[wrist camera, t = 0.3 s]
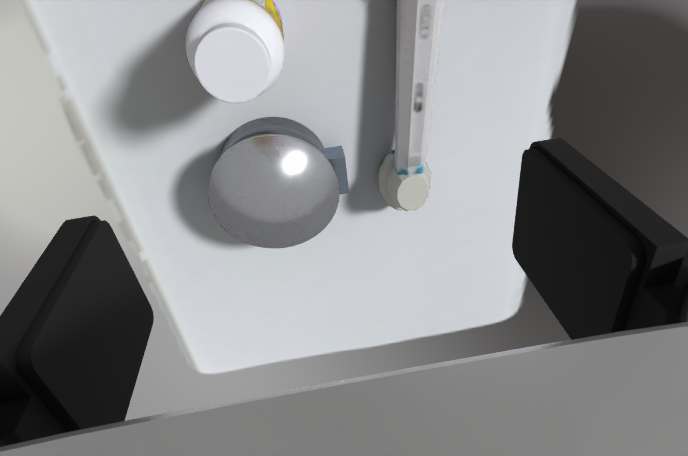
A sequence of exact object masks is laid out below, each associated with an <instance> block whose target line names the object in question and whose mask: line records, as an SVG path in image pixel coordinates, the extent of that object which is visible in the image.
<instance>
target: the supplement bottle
mask: <svg viewBox="0 0 688 456" xmlns="http://www.w3.org/2000/svg"><path fill="white" fill-rule="evenodd" d="M186 55H187V59H188V62H189V65H190V67H191V69H192V71H193V73H194V74H195V76H196V77H197V78H198V80H199V81H200V83H201V85H202V86H203V87H204V88H205V90H206V91H207V92H209V93H210V94H211V95H212V96H214V97H216V98H217V99H219V100H222V101H225V102H229V103H243V102H247V101H250V100H252V99H254V98H255V97H257V96H259V95H261V94H263V93H264V92H266V91H267V90H268V89H270V88H271V87H272V86H273V84H274V83H275V82H276V81H277V79H278V77H279V75H280V73H281V71H282V68H283V64H284V57H285V50H284V38H283V28H282V20H281V16H280V13H279V10H278V8H277V6H276V4H275V2H274V1H273V0H205V1H204V2H203V4H202V6H201V7H200V9H199V10H198V12H197V13H196V15H195V16H194V18H193V19H192V21H191V23H190V25H189V28H188V31H187V35H186Z"/></svg>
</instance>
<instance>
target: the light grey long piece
mask: <svg viewBox="0 0 688 456" xmlns="http://www.w3.org/2000/svg"><path fill="white" fill-rule="evenodd" d="M444 4H445V0H397V39H396V108H395V150H393V151H392V152H390V153H389V154H387V155H386V156H385V158H384V160H383V162H382V164H381V166H380V167H379V171H378V181H379V190H380V192H381V194H382V196H383V198H384V200H385V202H386V204H387V205H389V206H391V207H393V208H394V209H396V210H405V211H411V210H417V209H418V208H420V207H421V206H423V205H424V203H425V201H426V199H427V198H428V194H429V189H430V180H431V171H430V169H429V167H428V164H427V162H426V158H427V150H428V141H429V133H430V124H431V115H432V107H433V98H434V90H435V81H436V72H437V64H438V55H439V47H440V38H441V29H442V21H443V12H444Z"/></svg>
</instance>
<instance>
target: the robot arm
mask: <svg viewBox="0 0 688 456" xmlns="http://www.w3.org/2000/svg"><path fill="white" fill-rule="evenodd" d="M512 248H513V254H514V256H515V259H516V260H517V262H518V263H519V265H520V266H521V268H522V269H523V270H524V272H525V273H526V275H527V276H528V278H529V279H530V281H531V282H532V283H533V285H534V286H535V288H536V289H537V291H538V292H539V294H540V295H541V296H542V298H543V299H544V301H545V302H546V304H547V305H548V307H549V308H550V309H551V311H552V312H553V314H554V315H555V317H556V318H557V319H558V321H559V322H560V324H561V325H562V327H563V328H564V330H565V331H566V332H567V334H568V335H569V337H570V338H571V340H566V341H560V342H555V343H549V344H543V345H538V346H532V347H526V348H521V349H515V350H509V351H504V352H498V353H493V354H487V355H482V356H475V357H470V358H464V359H458V360H453V361H447V362H441V363H436V364H430V365H425V366H419V367H414V368H409V369H402V370H397V371H391V372H386V373H380V374H375V375H369V376H364V377H359V378H353V379H348V380H342V381H336V382H331V383H325V384H320V385H315V386H309V387H304V388H299V389H293V390H287V391H282V392H276V393H271V394H265V395H260V396H255V397H250V398H244V399H239V400H234V401H228V402H223V403H217V404H213V405H207V406H202V407H197V408H191V409H186V410H180V411H175V412H170V413H164V414H159V415H154V416H148V417H143V418H138V419H132V420H128V421H124V420H125V417H126V414H127V410H128V407H129V404H130V400H131V396H132V393H133V390H134V386H135V383H136V380H137V376H138V373H139V369H140V366H141V363H142V359H143V356H144V352H145V349H146V346H147V342H148V339H149V335H150V332H151V328H152V325H153V311H152V308H151V305H150V304H149V302H148V300H147V298H146V296H145V294H144V292H143V290H142V288H141V286H140V284H139V282H138V280H137V278H136V276H135V274H134V272H133V270H132V268H131V266H130V264H129V262H128V260H127V258H126V256H125V254H124V252H123V250H122V248H121V246H120V244H119V242H118V240H117V238H116V236H115V234H114V232H113V230H112V228H111V226H110V224H109V223H108V222H107V221H105V220H104V221H101V220H100V219H98V217H96V216H89V217H82V218H77V219H71V220H66V221H65V222H64V223H63V224H62V226H61V227H60V228H59V230H58V231H57V233H56V234H55V236H54V237H53V239H52V240H51V242H50V243H49V245H48V246H47V248H46V249H45V251H44V252H43V254H42V255H41V257H40V258H39V260H38V261H37V263H36V264H35V266H34V267H33V268H32V270H31V272H30V273H29V275H28V276H27V277H26V279H25V280H24V282H23V283H22V285H21V286H20V288H19V289H18V291H17V292H16V294H15V295H14V297H13V298H12V300H11V301H10V303H9V304H8V305H7V307H6V308H5V310H4V312H3V313H2V315H1V316H0V456H688V238H687V237H685V236H684V235H683V234H682V233H680V232H679V231H678V230H677V229H675V228H674V227H673V226H672V225H670V224H669V223H668V222H667V221H665V220H664V219H663V218H661V217H660V216H659V215H658V214H656V213H655V212H654V211H652V210H651V209H650V208H649V207H648V206H646V205H645V204H644V203H643V202H641V201H640V200H639V199H637V198H636V197H635V196H633V195H632V194H631V193H630V192H629V191H627V190H626V189H625V188H623V187H622V186H621V185H620V184H619V183H617V182H616V181H615V180H613V179H612V178H611V177H610V176H608V175H607V174H606V173H605V172H603V171H602V170H601V169H599V168H598V167H597V166H596V165H594V164H593V163H592V162H591V161H589V160H588V159H587V158H586V157H584V156H583V155H582V154H581V153H579V152H578V151H577V150H576V149H574V148H573V147H572V146H570V145H569V144H568V143H567V142H565V141H564V140H563V139H561V138H555V139H549V140H543V141H537V142H533V143H532V144H531V146H530V148H529V149H528V150H525V151H524V153H523V156H522V163H521V172H520V181H519V189H518V198H517V207H516V216H515V225H514V234H513V243H512Z"/></svg>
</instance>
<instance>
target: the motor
mask: <svg viewBox="0 0 688 456" xmlns="http://www.w3.org/2000/svg"><path fill="white" fill-rule="evenodd" d="M345 193H349V189H348V180H347V172H346V163H345V156H344V152H343V149H342V146H337V147H331V148H324V147H323V145H322V143H321V141H320V140H319V139H318V137H317V136H316V135H315V134H314V133H313V132H312V131H311V130H309V129H308V128H307V127H305V126H304V125H302V124H300V123H298V122H295V121H293V120H290V119H286V118H280V117H266V118H260V119H256V120H253V121H250V122H248V123H246V124H244V125H242V126H241V127H239V128H238V129H236V130H235V131H234V132H233V133H232V134H231V135H230V136H229V138H228V139H227V140H226V142H225V144H224V146H223V148H222V151H221V154H220V158H219V159H218V161H217V162H216V164H215V166H214V168H213V170H212V172H211V175H210V180H209V184H208V200H209V204H210V208H211V210H212V212H213V215H214V216H215V218H216V220H217V221H218V222H219V224H220V225H221V226H222V227H223V228H224V229H225V230H226V231H227V232H228V233H230V234H231V235H232V236H234V237H235V238H237V239H239V240H241V241H243V242H245V243H248V244H251V245H254V246H258V247H263V248H285V247H290V246H295V245H298V244H301V243H303V242H305V241H308V240H309V239H311V238H313V237H315V236H316V235H317V234H319V233H320V232H321V231H322V230H323V229H324V228H325V227H326V226H327V225H328V224H329V222H330V221H331V219H332V218H333V216H334V214H335V212H336V209H337V206H338V202H339V194H345Z"/></svg>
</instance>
